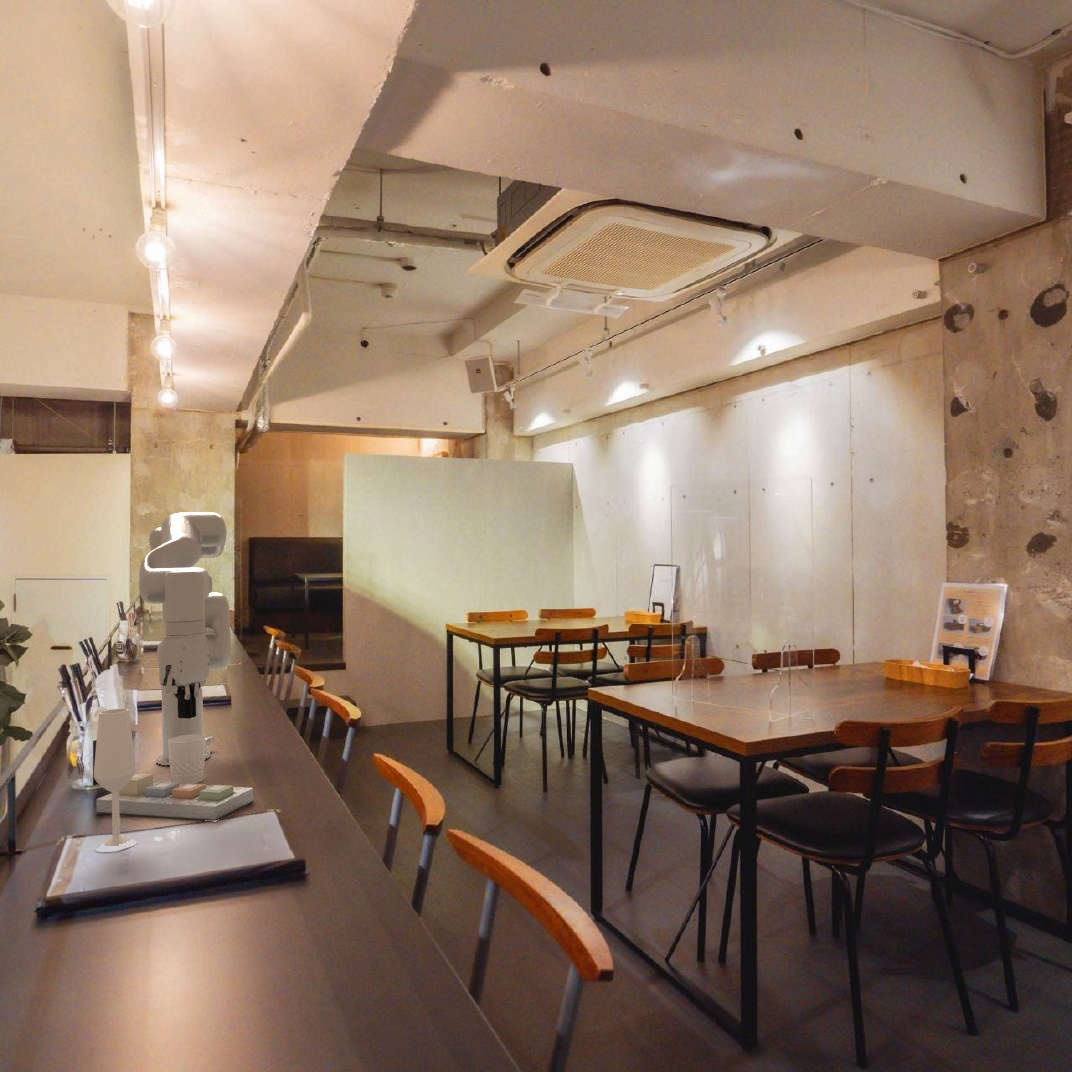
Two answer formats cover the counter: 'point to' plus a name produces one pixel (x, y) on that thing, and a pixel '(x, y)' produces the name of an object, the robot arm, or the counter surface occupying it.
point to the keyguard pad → (177, 806)
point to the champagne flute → (114, 762)
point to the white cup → (187, 758)
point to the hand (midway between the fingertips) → (187, 717)
